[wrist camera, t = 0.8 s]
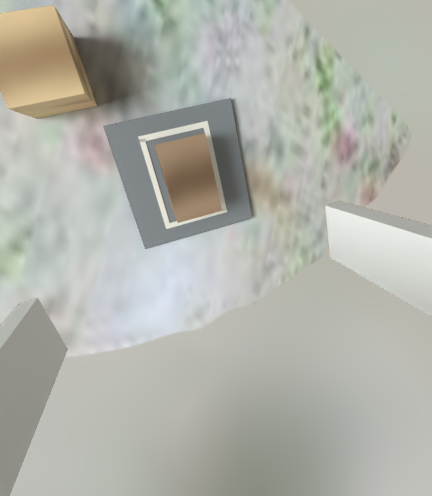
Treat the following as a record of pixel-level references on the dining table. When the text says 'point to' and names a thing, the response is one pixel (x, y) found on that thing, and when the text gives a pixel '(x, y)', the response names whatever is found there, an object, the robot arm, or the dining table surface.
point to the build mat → (151, 178)
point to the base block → (189, 177)
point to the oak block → (41, 64)
